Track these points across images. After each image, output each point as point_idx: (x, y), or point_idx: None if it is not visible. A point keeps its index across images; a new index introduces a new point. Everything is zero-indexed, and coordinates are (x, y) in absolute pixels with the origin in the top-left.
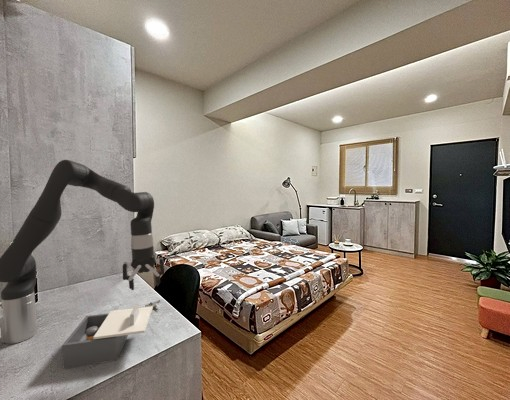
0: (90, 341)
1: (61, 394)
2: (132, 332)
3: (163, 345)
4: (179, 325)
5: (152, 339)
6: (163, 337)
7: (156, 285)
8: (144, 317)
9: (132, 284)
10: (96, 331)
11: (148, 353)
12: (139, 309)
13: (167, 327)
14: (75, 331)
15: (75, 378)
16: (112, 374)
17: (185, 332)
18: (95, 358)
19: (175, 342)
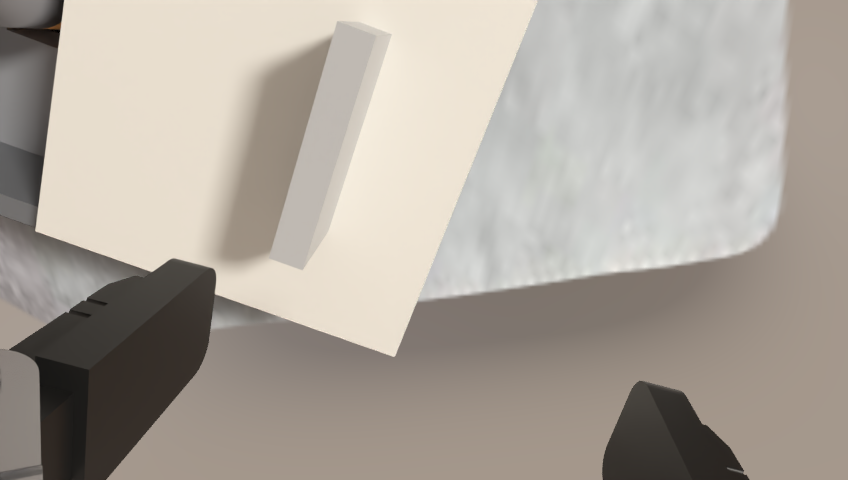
0: (35, 224)
1: (48, 320)
2: (311, 324)
3: (527, 251)
4: (714, 82)
5: (482, 146)
6: (554, 167)
7: (606, 476)
8: (427, 159)
9: (128, 435)
10: (55, 11)
11: (430, 272)
12: None
13: (623, 53)
14: None
15: (78, 250)
16: (246, 323)
17: (706, 200)
18: None
19: (602, 266)
